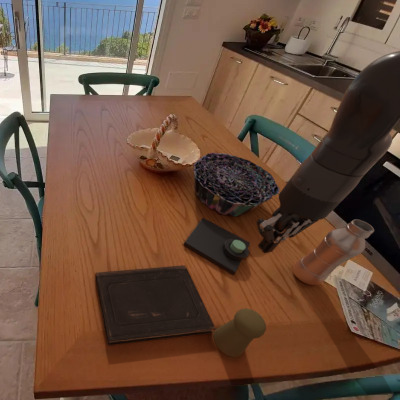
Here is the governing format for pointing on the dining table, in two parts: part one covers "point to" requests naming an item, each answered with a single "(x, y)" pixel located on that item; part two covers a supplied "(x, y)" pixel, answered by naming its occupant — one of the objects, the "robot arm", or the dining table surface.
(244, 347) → the cork
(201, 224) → the dark grey button base
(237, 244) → the tare button
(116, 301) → the hardcover book
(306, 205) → the robot arm
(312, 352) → the dining table surface
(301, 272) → the plastic bottle
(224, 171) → the decorative bowl
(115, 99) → the dining table surface
